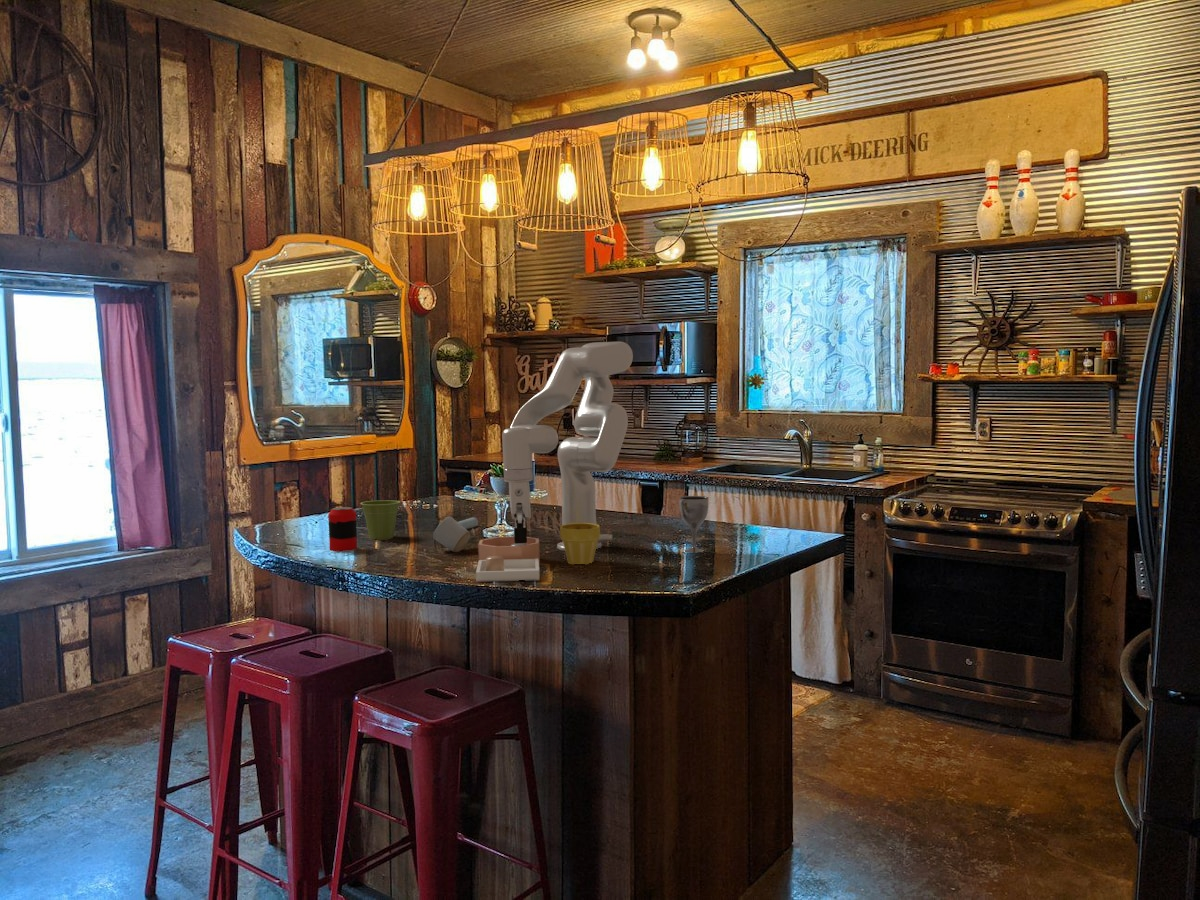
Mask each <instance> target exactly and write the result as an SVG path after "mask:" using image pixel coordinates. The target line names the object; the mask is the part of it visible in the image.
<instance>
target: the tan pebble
mask: <svg viewBox="0 0 1200 900" xmlns="http://www.w3.org/2000/svg"><path fill="white" fill-rule="evenodd" d="M486 571H504V557H503V556H489V557H486Z"/></svg>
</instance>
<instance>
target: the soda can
mask: <svg viewBox="0 0 1200 900" xmlns="http://www.w3.org/2000/svg"><path fill="white" fill-rule="evenodd" d="M356 512H357V511H355V510H354V509H353V507H349V506H341V507H333V508H331V510H330V511H329V512H328V537H329V538H328V539H329V541H328V542H329V543H328V544H329V551H331V552H350V551H355V550H357V549H358V537H357V536H358V534H357V533H358V532H357V513H356Z"/></svg>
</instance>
